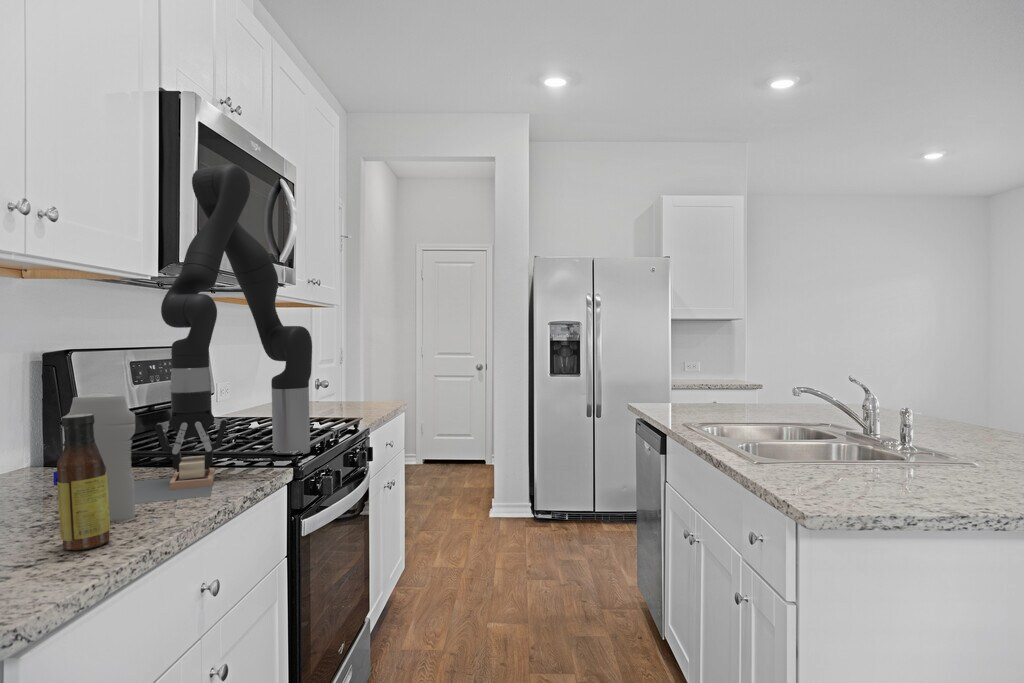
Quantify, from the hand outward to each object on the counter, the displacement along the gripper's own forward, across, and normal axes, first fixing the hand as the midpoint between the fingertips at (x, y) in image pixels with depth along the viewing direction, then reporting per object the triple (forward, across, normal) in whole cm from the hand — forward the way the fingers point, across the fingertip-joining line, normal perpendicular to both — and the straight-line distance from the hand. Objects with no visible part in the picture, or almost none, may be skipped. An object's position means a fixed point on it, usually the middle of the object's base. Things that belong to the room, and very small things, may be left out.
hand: (193, 469), depth 132 cm
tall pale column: (+3, +12, +23) cm, 26 cm away
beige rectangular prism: (+1, 0, 0) cm, 1 cm away
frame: (+3, 0, 0) cm, 3 cm away
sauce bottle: (+3, +12, +35) cm, 37 cm away
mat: (+3, +4, +4) cm, 6 cm away
